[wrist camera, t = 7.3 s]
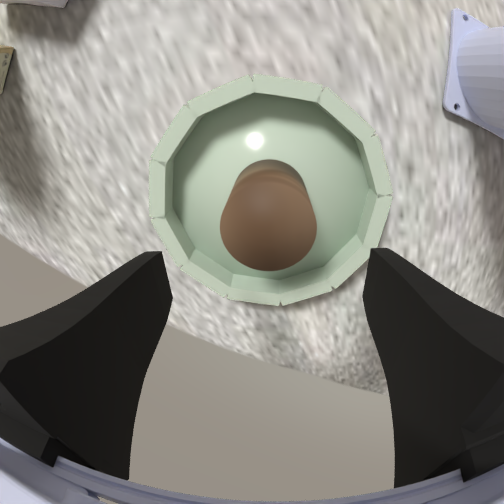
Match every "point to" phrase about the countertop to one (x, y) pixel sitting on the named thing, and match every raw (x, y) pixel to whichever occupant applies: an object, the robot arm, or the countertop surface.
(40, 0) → the charger
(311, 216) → the walnut bead
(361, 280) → the countertop surface
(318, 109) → the round tray
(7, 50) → the skincare box
